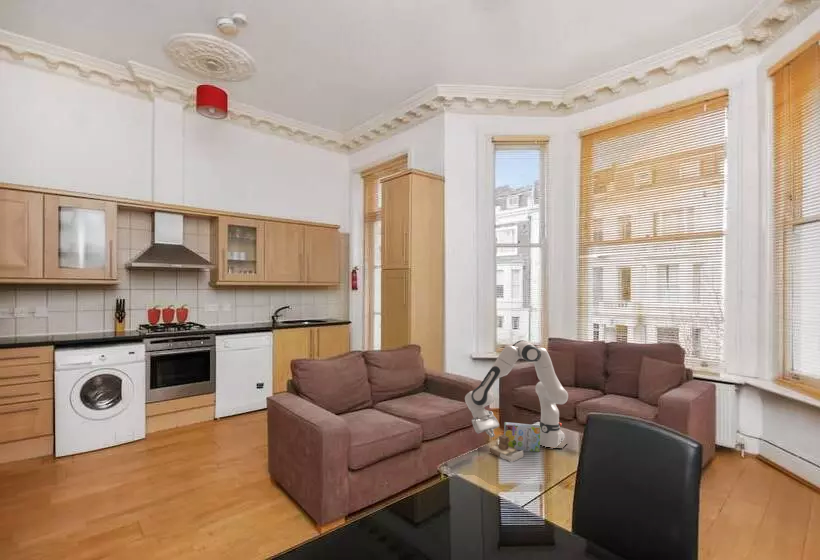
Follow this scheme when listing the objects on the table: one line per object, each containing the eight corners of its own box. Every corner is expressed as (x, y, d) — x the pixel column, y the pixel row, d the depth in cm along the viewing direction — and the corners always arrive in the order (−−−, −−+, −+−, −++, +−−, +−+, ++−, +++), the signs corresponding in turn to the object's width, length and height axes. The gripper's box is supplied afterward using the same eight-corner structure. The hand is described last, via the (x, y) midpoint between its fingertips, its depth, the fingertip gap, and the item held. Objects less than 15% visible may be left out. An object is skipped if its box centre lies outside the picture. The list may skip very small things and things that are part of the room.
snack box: (537, 448, 257) (538, 424, 257) (539, 452, 251) (540, 427, 251) (503, 445, 259) (504, 421, 259) (504, 449, 253) (505, 424, 253)
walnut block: (502, 446, 249) (503, 435, 249) (508, 448, 246) (508, 437, 246) (498, 448, 246) (499, 436, 246) (504, 450, 243) (504, 438, 243)
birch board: (501, 448, 254) (501, 443, 254) (516, 454, 246) (516, 449, 246) (489, 452, 246) (489, 447, 246) (504, 458, 238) (504, 453, 238)
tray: (511, 452, 248) (512, 445, 248) (523, 457, 242) (523, 450, 242) (499, 456, 240) (500, 450, 240) (511, 461, 234) (511, 454, 234)
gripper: (473, 416, 251) (485, 437, 243) (493, 411, 264) (505, 431, 257) (467, 421, 254) (478, 442, 247) (487, 416, 268) (499, 436, 260)
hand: (492, 436), depth 252 cm, fingers closed
